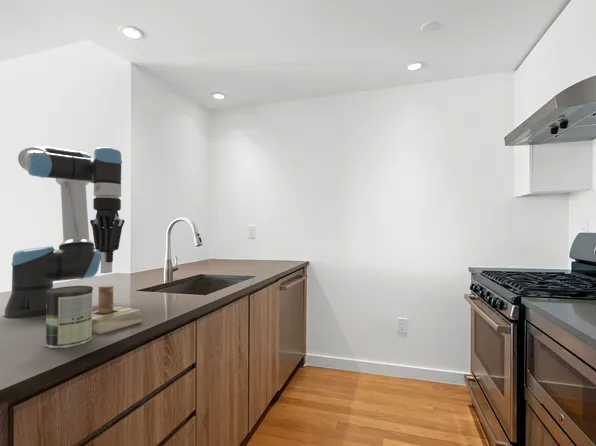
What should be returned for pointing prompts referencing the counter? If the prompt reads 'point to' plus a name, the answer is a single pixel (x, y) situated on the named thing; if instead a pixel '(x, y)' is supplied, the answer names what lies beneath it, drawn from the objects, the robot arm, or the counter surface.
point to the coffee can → (68, 316)
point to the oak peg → (105, 300)
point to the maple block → (115, 319)
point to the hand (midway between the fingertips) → (106, 272)
